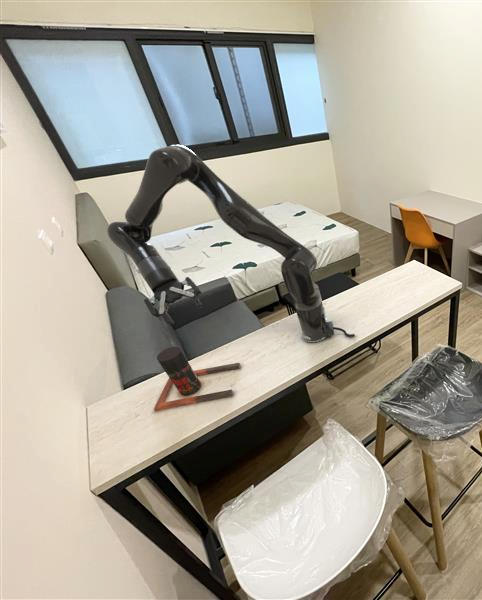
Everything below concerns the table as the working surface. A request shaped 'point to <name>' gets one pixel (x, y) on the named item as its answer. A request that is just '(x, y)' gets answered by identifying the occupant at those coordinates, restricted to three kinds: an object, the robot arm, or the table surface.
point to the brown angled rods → (196, 399)
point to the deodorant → (179, 371)
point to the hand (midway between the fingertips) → (186, 315)
